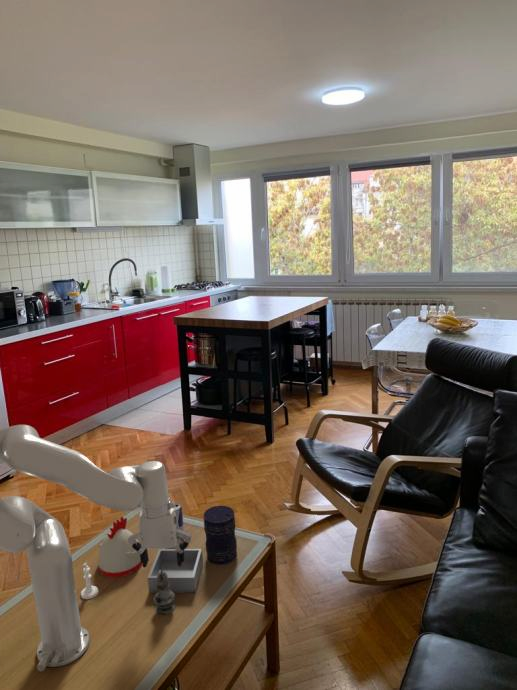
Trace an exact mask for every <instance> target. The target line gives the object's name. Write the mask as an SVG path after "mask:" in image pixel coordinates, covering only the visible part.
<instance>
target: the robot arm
mask: <svg viewBox="0 0 517 690" xmlns="http://www.w3.org/2000/svg"><path fill="white" fill-rule="evenodd" d="M1 464H5V465H6V466H7V467H9V468H10V469H12V470H14V471H16V472H19V473H23V474H26V475H28V476H32V477H34V478H37V479H41V480H45V481H48V482H51V483H53V484H57V485H60V486H63V487H65V488H67V489H68V490H69V491H71V492H73V493H74V494H77V495H79V496H81V497H82V498H85V499H86V500H88V501H89V502H92V503H94V504H97V505H99V506H102V507H105V508H107V509H111V510H115V511H119V512H131V511H133V510H136V509H137V508H138V507H140V513H139V519H138V520H139V521H138V531H137V532H135V533H133V535H131V536H129V538H128V541H129V543H130V544H131V545H132V547H133V548H134V549H135V550H136V551H138V554H140V559H141V563H142V568H146V567H147V565H148V563H149V553H148V549H175V550H176V551H178V552H177V561H178V566H181V564H182V562H184V550H185V549H188V547H189V544H190V542H191V540H192V537H193V535H192V534H191V533H189V532H187V531H185V530H184V531H182V530H179V525H178V521H177V517H176V514H175V511H174V509H173V508H175V503H176V502H173V501H171V498H170V495H169V488H168V478H167V472H166V467H165V464H164V463H163V462H161V461H157V460H149V461H146V462H143V463H141V464H136V465H128V466H119V467H114V468H113V469H111V470H110V471H109V472H106V471H104V470H103V469H101V468H100V467H98V466H97V465H95V464H94V463H93V461H91V460H90V459H89V458H88V457H86V456H85V455H84V454H83V453H81V452H80V451H77V450H76V449H72V448H70V447H67V446H64V445H60V444H57V443H55V442H52V441H50V440H47V439H44V438H41V437H40V435H39V433H38V431H37V430H36V428H35V427H33V426H31V425H28V424H16V425H11V426H8V427H5V428H4V427H3V428H1V429H0V465H1ZM180 537H181V538H184V539H183V540H184V541H180V540H179V539H178V538H180ZM136 539H137V540H138V539H139V541H138V542H137V541H136ZM0 550H2V551H5V552H7V553H13V554H15V553H17V554H18V553H21V552H24V551H25V550H26V556H27V564H28V565H27V566H28V571H29V576H30V580H31V586H32V591H33V592H32V593H33V598H34V604H35V610H36V615H37V621H38V626H39V632H40V633H39V634H40V639H41V641H40V642H39V643H38V646H37V648H36V656H37V661H38V664H37V666H36V669H37V671H38V672H43V671H45V669H46V668H47V667H49V668H51V667H52V668H57V667H62V666H66V665H69V664H71V663H72V662H74V661H75V660H78V659H79V658H80V657H81V656H82V655H83V654H85V652H86V650H87V649H88V647H89V645H90V633H89V631H88V630H87V629H86V628H85V627H83V626H82V623H81V618H80V617H81V616H80V609H79V604H78V603H79V602H78V597H77V590H76V582H75V577H74V576H75V575H74V567H73V565H74V564H73V555H72V550H71V548H70V543H69V540H68V538H67V535H66V530H65V529H64V526H63V524H62V523H61V522H60V521H59V520H58V519H57V518H55V517H54V516H53V515H51V514H50V513H49V512H47V511H46V510H44V509H43V508H41V507H39V506H38V505H37V504H35V503H34V502H33V501H31V500H29V499H28V498H27V497H23V496H19V495H11V496H6V497H4V498H1V497H0Z"/></svg>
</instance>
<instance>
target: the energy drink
mask: <svg viewBox="0 0 517 690" xmlns="http://www.w3.org/2000/svg"><path fill="white" fill-rule="evenodd" d="M174 503H175V508H173V509H174V511H175V514H176V517H177V521H178V525H179V530H182V531H184V532H185V529H184V528H185V527H184V516H183V507H182V505H181V503H179V502H174ZM178 539H179V540H180V541H181V542H183V540H185V539H184V538H181V537H180V538H178Z"/></svg>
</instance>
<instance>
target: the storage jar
mask: <svg viewBox="0 0 517 690" xmlns="http://www.w3.org/2000/svg"><path fill="white" fill-rule="evenodd" d="M203 527H204V529H203V530H204V533H205V538H206V540H205V551H206V559H207V561H208V562H209V563H210V564H211V565H214V566H215V565H216V566H224V565H225V566H226V565H229V564H231V563H233V562H234V561H236V559H237V557H238V551H237V549H238V546H237V545H238V543H237V537H236V518H235V510H234V509H233V508H232V507H231V506H227V505H215V506H212V507H209V508H207V509H206V510H205V511H204V513H203Z"/></svg>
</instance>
